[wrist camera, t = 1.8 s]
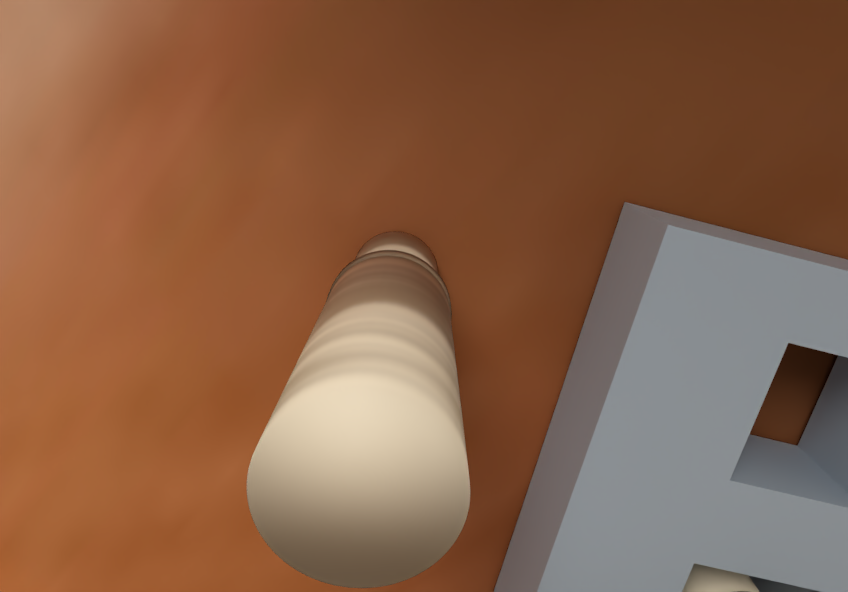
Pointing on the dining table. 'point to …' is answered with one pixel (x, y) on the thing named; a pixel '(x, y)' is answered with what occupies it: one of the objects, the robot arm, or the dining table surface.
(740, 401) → the seat board
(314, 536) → the beech leg
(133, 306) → the dining table surface
